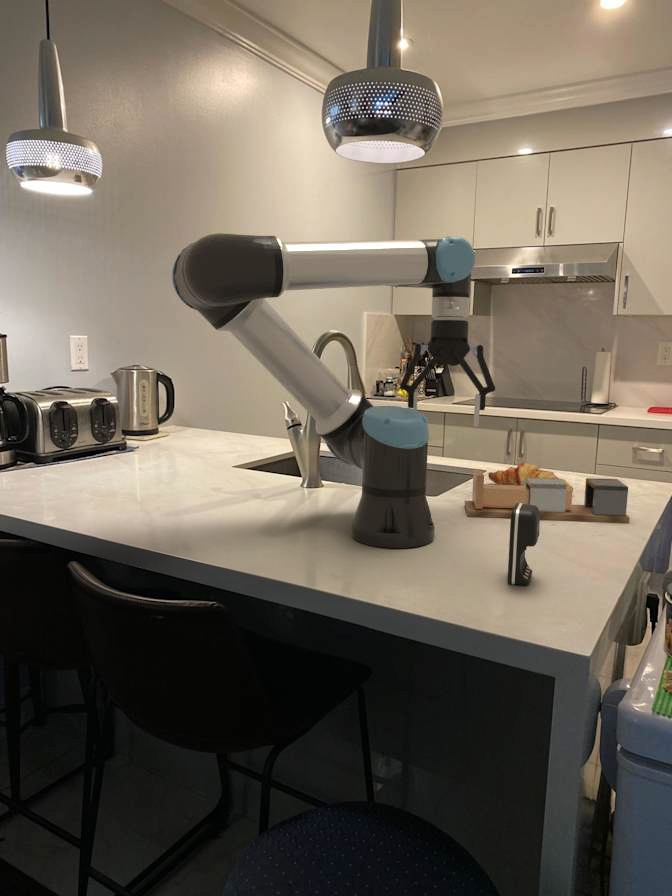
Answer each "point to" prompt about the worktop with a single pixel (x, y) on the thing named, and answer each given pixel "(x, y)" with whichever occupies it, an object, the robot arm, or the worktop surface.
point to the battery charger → (522, 541)
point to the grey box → (606, 496)
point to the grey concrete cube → (547, 494)
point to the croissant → (521, 475)
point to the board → (547, 514)
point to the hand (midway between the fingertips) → (445, 425)
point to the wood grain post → (503, 494)
